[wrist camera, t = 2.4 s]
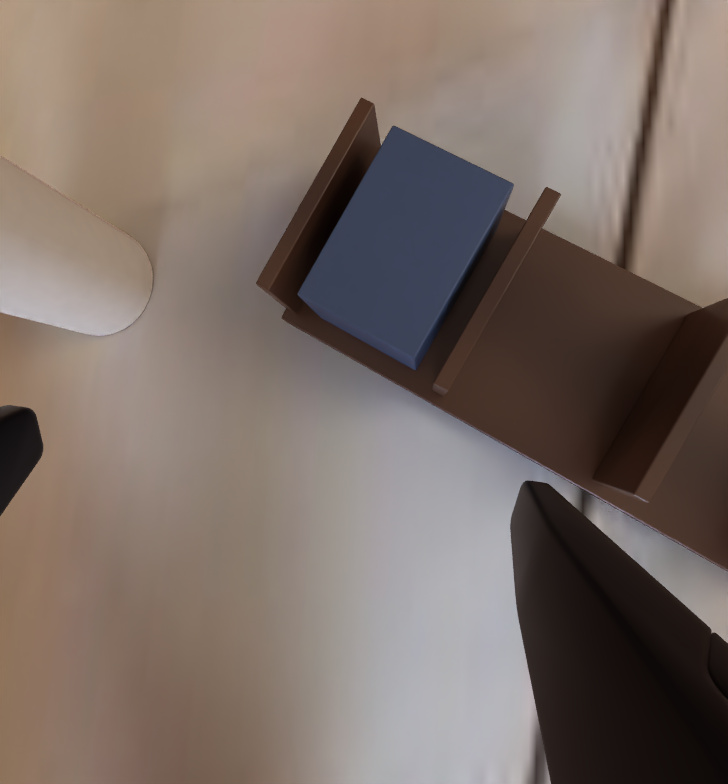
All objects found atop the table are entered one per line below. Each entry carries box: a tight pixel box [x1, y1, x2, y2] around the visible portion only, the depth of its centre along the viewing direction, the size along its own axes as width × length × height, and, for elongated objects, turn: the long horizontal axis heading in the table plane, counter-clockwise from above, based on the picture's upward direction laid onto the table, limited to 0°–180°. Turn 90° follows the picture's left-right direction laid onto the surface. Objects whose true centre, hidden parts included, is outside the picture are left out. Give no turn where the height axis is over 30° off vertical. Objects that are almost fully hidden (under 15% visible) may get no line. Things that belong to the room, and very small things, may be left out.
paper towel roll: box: [0, 155, 153, 336], centre depth 20 cm, size 5×5×10 cm
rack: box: [256, 98, 728, 571], centre depth 19 cm, size 9×23×5 cm, turn 60°
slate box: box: [297, 126, 514, 370], centre depth 20 cm, size 7×5×4 cm
